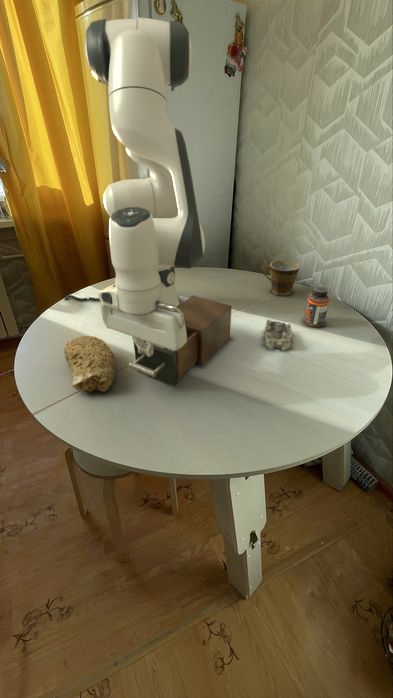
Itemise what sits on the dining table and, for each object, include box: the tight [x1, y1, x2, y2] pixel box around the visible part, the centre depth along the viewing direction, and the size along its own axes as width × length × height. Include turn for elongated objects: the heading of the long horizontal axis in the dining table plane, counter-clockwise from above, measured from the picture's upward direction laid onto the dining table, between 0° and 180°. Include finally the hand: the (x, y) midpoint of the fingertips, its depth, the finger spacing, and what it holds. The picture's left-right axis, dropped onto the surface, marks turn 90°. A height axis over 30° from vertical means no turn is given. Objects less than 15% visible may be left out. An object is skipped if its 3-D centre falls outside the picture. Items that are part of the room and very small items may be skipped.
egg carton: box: [263, 319, 293, 351], centre depth 99 cm, size 11×8×4 cm
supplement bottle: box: [303, 286, 330, 328], centre depth 105 cm, size 6×6×11 cm
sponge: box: [63, 335, 116, 393], centre depth 87 cm, size 13×8×20 cm
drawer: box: [128, 329, 199, 387], centre depth 85 cm, size 19×11×9 cm, turn 148°
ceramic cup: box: [260, 259, 301, 297], centre depth 124 cm, size 13×10×10 cm
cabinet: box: [177, 295, 233, 367], centre depth 95 cm, size 16×13×11 cm
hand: (146, 353), depth 78 cm, fingers closed
